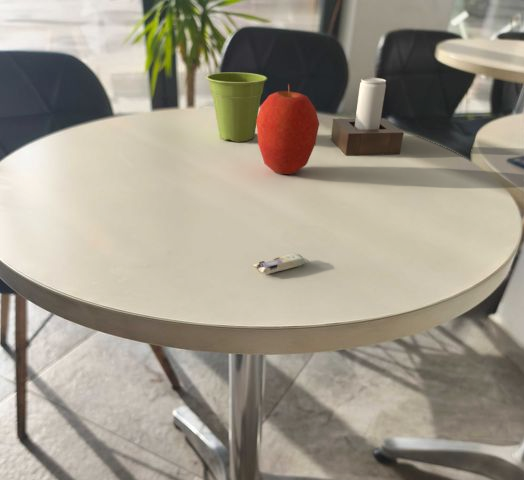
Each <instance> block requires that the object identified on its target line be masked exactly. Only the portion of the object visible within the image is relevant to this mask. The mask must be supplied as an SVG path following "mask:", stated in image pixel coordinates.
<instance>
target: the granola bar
mask: <svg viewBox="0 0 524 480" xmlns="http://www.w3.org/2000/svg"><path fill="white" fill-rule="evenodd" d="M306 263H310V261H309V260H308V259H307V258H305V257H304V256H302V255H301V254H299V253H289V254H287V255H282V256H277V257H274V258H269V259H266V260H261V261H259V262H258V263H255V264H253V265H251V267H253V268H254V269H255V270H256V271H257V272H258V273H259V274H263V275H269V274H274V273H277V272H281V271H285V270H290V269H292V268H293V269H294V268H296V267H300V266H302V265H304V264H306Z"/></svg>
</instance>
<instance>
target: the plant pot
mask: <svg viewBox="0 0 524 480" xmlns="http://www.w3.org/2000/svg"><path fill="white" fill-rule="evenodd" d="M205 79H206V80H207V81H208V83H209V88H210V93H211V95H212V100H213V105H214V112H215V117H216V123H217V128H218V134H219V138H220V139H222V140H224V141H227V140H228V141H229V140H230V141H232V142H236V143H240V142H248V141H251V140H252V139H254V138H255V134H256V130H257V121H256V120H257V117H258V114H259V111H260V104H261V98H262V95H263V91H264V86H265V82H266V81H267V80H268V77H267V76H266V75H263V74H258V73H252V72H234V71H232V72H231V71H229V72H216V73H210V74H207V75H206V76H205Z"/></svg>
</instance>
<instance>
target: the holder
mask: <svg viewBox="0 0 524 480" xmlns="http://www.w3.org/2000/svg"><path fill="white" fill-rule="evenodd" d="M355 120H356V118H333V119H332V125H331V135H330V140H331V141H332V142H333V143H334V144H335V146H336V147H337V148H338V149H339V150H340V151H341V152H342V153H343V154H344V155H345V156H374V155H376V156H377V155H378V156H379V155H380V156H381V155H400V154H401V150H402V144H403V138H404V133H405V132H404V131H402V129H400V128H399V127H397V126H395V125H394V124H393V123H391V122H390V121H389V120H387V119H386V118H385V117H381V120H380V126H379V129H377V130H357V129H356V128H354V127H355Z"/></svg>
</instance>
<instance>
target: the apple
mask: <svg viewBox="0 0 524 480" xmlns="http://www.w3.org/2000/svg"><path fill="white" fill-rule="evenodd" d="M287 88H288V89H287V90H280V91H276V92H273V93H271V94H269V95H268V96H267V98H266V99H265V100H264V101H263V102H262V103H261V105H260V107H259V110H258V117H257V120H256V121H257V123H256V135H257V145H258V148H259V151H260V155H261V157H262V161H263V163H264V165H266V167H268V168H269V169H270V170H271V171H272V172H273V173H275V174H280V175H292V174H295V173H297V172H299V171H300V170H301V169H302V168H304V167H305V166H306V165H307V164H308V163H309V159H310V157H311V155H312V153H313V150H314V148H315V146H316V143H317V139H318V133H319V127H320V120H319V116H318V113H317V109H316V108H315V106H314V105H313V103H312V101H311V99H309V97H308V96H307V95H305V94H303V93H299V92H294V91H290V90H291V89H290V84H288V85H287Z"/></svg>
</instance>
